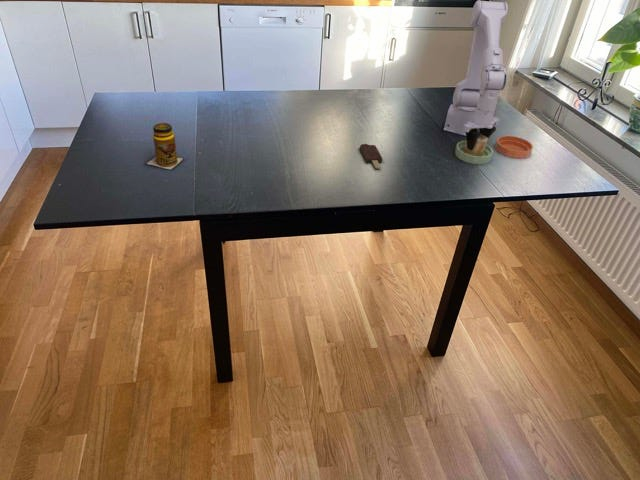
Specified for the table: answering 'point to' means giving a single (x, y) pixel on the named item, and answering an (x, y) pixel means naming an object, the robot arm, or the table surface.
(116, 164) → the table surface
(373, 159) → the ice cream bar
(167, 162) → the condiment
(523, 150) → the terracotta bowl
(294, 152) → the table surface
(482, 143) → the box
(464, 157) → the celadon bowl
